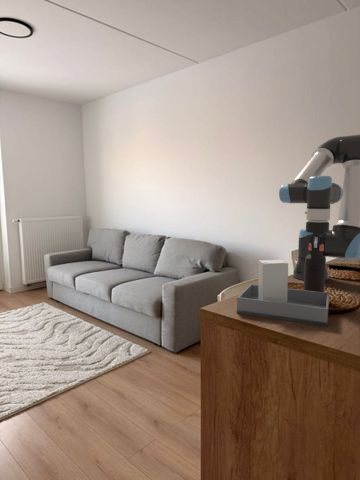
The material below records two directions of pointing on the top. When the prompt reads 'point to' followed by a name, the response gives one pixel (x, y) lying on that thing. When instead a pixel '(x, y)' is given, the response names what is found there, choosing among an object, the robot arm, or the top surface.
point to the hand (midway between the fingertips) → (313, 286)
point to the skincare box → (273, 280)
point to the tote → (287, 306)
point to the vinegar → (315, 272)
